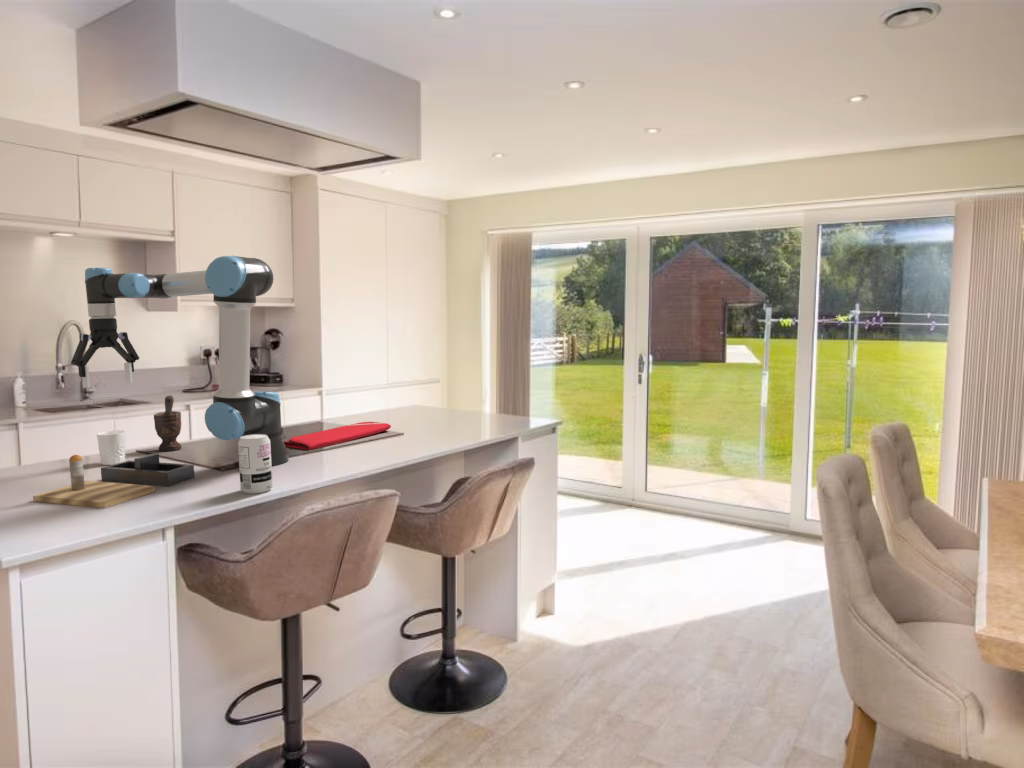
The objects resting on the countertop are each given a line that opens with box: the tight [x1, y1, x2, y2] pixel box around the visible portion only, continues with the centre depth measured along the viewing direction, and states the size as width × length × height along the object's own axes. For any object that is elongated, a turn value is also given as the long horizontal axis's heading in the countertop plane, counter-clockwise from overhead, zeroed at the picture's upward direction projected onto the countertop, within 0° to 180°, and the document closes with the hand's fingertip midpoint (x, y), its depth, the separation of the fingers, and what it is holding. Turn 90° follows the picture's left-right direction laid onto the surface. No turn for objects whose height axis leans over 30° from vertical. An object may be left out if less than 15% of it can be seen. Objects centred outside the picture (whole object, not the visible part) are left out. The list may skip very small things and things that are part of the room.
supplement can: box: [237, 434, 274, 495], centre depth 189 cm, size 8×8×15 cm
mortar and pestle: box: [153, 394, 182, 452], centre depth 244 cm, size 12×9×20 cm
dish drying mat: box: [284, 421, 392, 451], centre depth 262 cm, size 16×41×4 cm, turn 146°
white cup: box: [96, 430, 126, 466], centre depth 225 cm, size 8×8×10 cm
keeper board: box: [32, 454, 156, 509], centre depth 186 cm, size 24×16×11 cm, turn 73°
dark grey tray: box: [100, 453, 196, 487], centre depth 203 cm, size 10×24×7 cm, turn 73°
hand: (108, 385), depth 220 cm, fingers open, 13 cm apart
